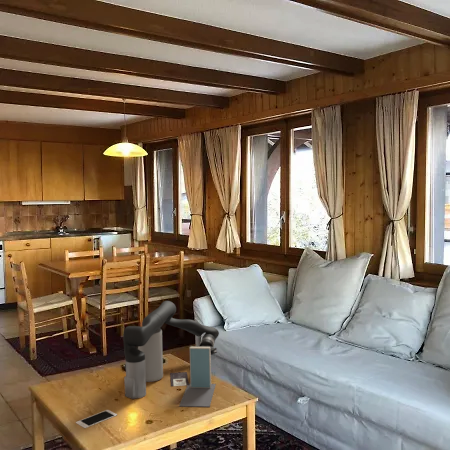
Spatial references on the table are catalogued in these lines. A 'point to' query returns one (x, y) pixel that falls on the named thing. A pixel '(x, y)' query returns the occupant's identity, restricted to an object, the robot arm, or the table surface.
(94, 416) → the cell phone
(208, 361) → the tile
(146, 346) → the cylinder vase
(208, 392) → the felt mat
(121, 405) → the table surface
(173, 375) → the chocolate bar
